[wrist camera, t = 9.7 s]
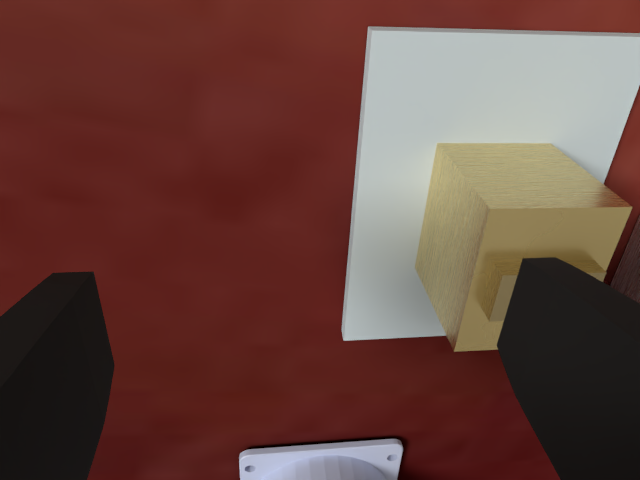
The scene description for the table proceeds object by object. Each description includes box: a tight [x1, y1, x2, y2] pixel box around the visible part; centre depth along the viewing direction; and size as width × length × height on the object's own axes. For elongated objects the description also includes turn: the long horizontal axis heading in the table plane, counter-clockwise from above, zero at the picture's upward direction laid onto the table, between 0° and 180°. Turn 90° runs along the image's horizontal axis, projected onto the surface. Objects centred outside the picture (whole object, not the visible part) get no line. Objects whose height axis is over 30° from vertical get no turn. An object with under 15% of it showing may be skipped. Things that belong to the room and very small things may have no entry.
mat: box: [341, 26, 640, 341], centre depth 19 cm, size 12×9×1 cm
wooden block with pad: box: [415, 143, 632, 352], centre depth 17 cm, size 5×4×5 cm
